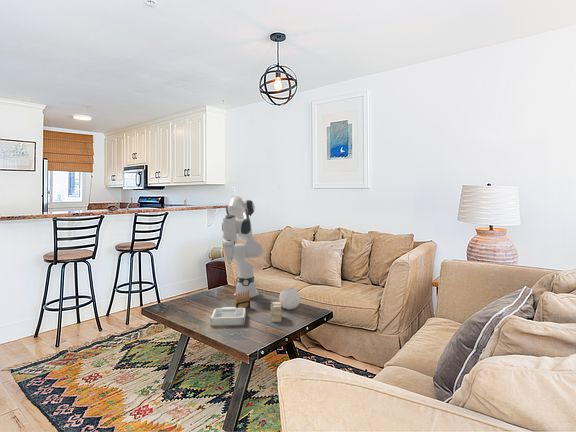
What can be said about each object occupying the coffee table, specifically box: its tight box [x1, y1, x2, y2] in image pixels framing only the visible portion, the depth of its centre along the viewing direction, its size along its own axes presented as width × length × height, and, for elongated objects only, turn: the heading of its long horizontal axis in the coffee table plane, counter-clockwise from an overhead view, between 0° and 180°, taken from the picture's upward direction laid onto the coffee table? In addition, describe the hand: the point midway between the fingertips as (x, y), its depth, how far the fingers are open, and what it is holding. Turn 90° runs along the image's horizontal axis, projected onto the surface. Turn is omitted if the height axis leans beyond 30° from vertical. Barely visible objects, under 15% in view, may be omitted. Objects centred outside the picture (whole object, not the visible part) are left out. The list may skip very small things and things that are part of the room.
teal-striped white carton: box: [221, 306, 236, 317], centre depth 210 cm, size 3×8×7 cm, turn 93°
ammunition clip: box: [234, 290, 251, 310], centre depth 231 cm, size 11×2×12 cm, turn 127°
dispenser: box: [270, 300, 282, 323], centre depth 212 cm, size 9×6×10 cm
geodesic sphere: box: [278, 287, 301, 311], centre depth 231 cm, size 15×14×14 cm
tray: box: [210, 307, 247, 327], centre depth 210 cm, size 17×19×5 cm
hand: (230, 262), depth 222 cm, fingers open, 8 cm apart
